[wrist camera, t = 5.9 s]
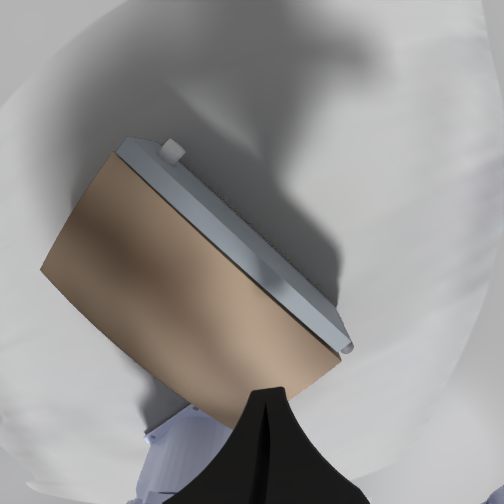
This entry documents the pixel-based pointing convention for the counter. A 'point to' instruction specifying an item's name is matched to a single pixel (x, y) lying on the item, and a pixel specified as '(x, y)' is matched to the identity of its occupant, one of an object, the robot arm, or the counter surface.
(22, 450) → the counter surface
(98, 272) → the cabinet
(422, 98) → the counter surface
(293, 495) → the robot arm
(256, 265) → the door
